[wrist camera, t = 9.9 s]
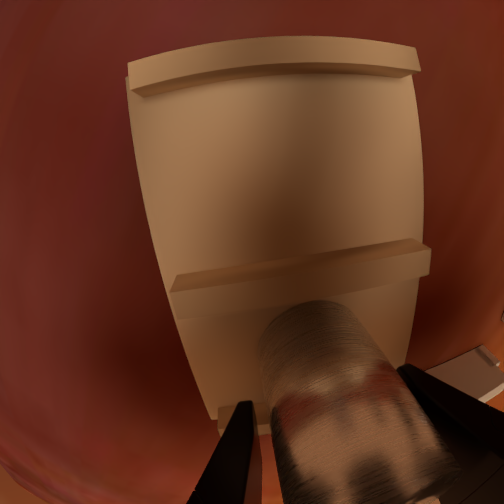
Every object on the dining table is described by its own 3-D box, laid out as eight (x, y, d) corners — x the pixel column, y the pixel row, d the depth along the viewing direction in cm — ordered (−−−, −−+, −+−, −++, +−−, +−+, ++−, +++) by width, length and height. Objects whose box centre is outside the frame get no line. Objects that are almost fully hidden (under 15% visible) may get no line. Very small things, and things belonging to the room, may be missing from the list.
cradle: (482, 344, 13) (513, 375, 9) (449, 419, 15) (467, 448, 12) (344, 397, 13) (366, 449, 9) (334, 462, 15) (345, 501, 12)
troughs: (393, 63, 8) (427, 49, 6) (391, 368, 12) (410, 397, 10) (135, 84, 8) (110, 67, 5) (211, 404, 12) (210, 440, 10)
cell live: (363, 290, 9) (505, 461, 2) (357, 372, 11) (435, 521, 4) (249, 312, 9) (293, 558, 2) (263, 393, 11) (296, 570, 3)
